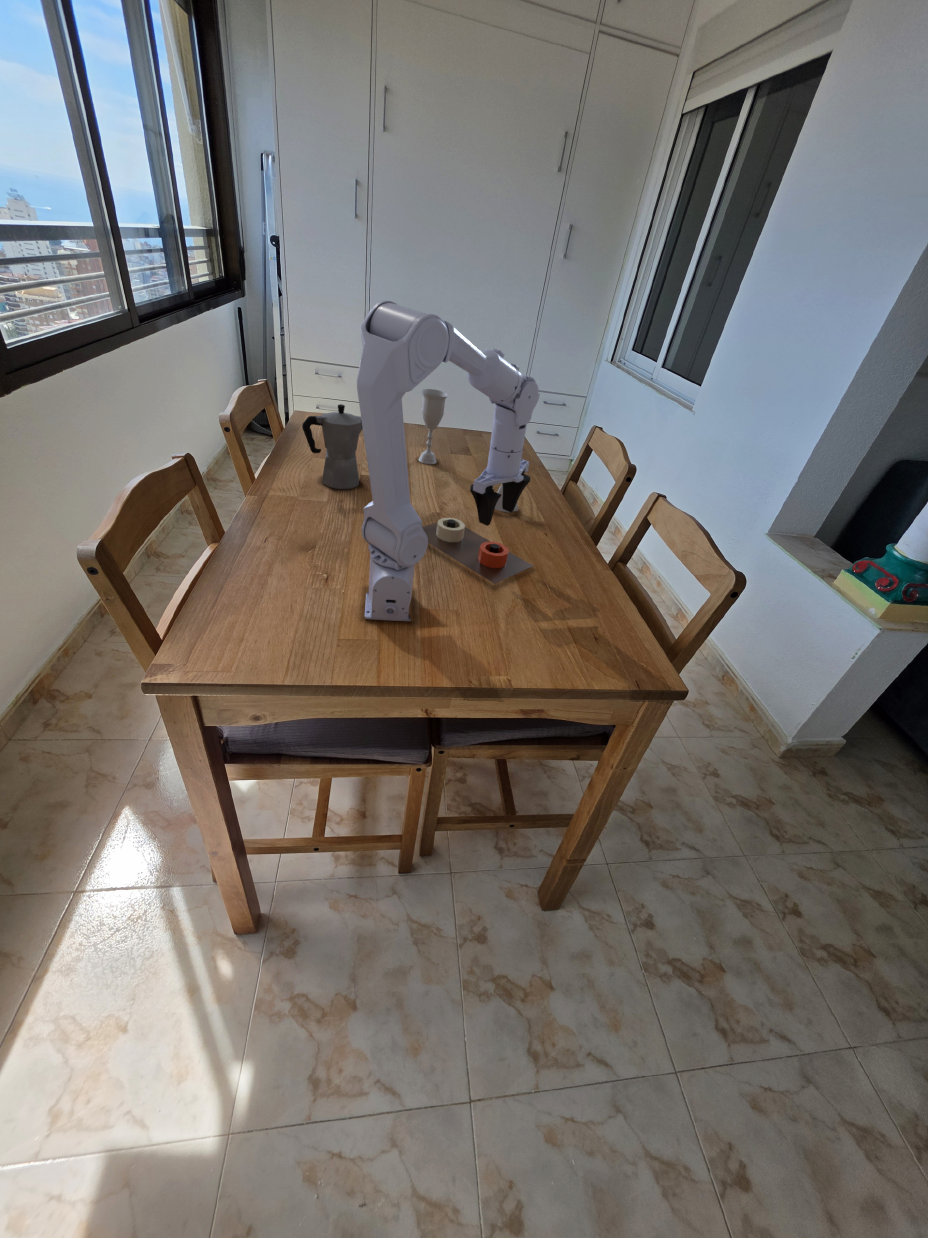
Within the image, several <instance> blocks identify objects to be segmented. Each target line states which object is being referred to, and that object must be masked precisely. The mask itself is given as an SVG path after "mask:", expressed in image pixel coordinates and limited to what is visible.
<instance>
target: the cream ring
mask: <svg viewBox="0 0 928 1238" xmlns="http://www.w3.org/2000/svg"><path fill="white" fill-rule="evenodd" d="M449 519H452V520H455V521H456V526H455V528H449V527H447V521H448V520H449ZM437 522H438V523H437ZM437 522H436V523H437V531H436V535H437V537H438V538H439V539H441V540H443V541H446V542H459V541H461V540H462V539H463V537H464V530H465V527H466V525H465V523H464V522H463V521H462V520H460V519H458V518H453V517H442V518H440V519H438V521H437Z"/></svg>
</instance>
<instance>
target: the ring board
mask: <svg viewBox="0 0 928 1238" xmlns="http://www.w3.org/2000/svg"><path fill="white" fill-rule="evenodd" d="M437 523H438V521H436V522H434V523H431V524H428V525H425V526H422V528H423V530H424V532H425V533H426V535H427V537H428V545H431V546H432V547H435V548H436V549H437V550H439V551H441V552H442V553H443V554H445V555H447V556H448V557H450V558H452V559H454V560H455V561H457V562H458V563H460V564H462V565H463V566H465V567H467V568H468V569H469V570H471V571H473V572H475V573H476V574H478V575H479V576H481V577H483V578H484V579H486V580H487V581H489V582H491V583H492V584H494V585H495V584H498V583H500V582H502V581H504V580H506V579H508V578H511V577H513V576H515V575H517V574H519V573H522V572H524V571H526V570H528V569H530V568H532V567H534V565H533V564H531V563H530V562H528V561H526V560H524V559H523V558H520V557H519V556H517V555H515V554H513V553H512V552H510V551H509V553H508V557H507V562H506V565H505V566H504V567H501V568H490V567H486V566H484V565H483V564H481V563H480V562H479V560H478V555H479V549H480V546H481V544H482V543H484V542H492V541H491V540H489V539H487V538H486V537H484V536H482V535H480V534H478V533H476V532H475V531H474V530H471V529H469V528H467V527H466V526H465V530H464V537H463V539H462V540H461V541H459V542H446V541H443V540H441V539H439V538H438V537H437V535H436V531H437ZM455 526H456V521H455V520H452V519H449V520H448V521H447V527H449V528H455ZM489 552H492V553H498V552H499V545H497V544H491V545H490V550H489Z"/></svg>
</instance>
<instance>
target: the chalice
mask: <svg viewBox="0 0 928 1238" xmlns="http://www.w3.org/2000/svg"><path fill="white" fill-rule="evenodd" d="M421 394H422V402H421V415H422V420H423V422H424V426H425V428H426V429H428V434H427V436H426V437H427V441H426V442H425V444H426V449H425V450H423V451H422V452H421V455H420V456H419V458H418V461H419V462H420V463H422V464H425V465H435V464H437V459H436V455H435V453H434V452H433V451H432V449H431V448H432V445H433V442H432V439H433V438H434V435H433V431H434V430H436V429H437V428H438V426H439V425H440V423H441V422H442V419H443V417H444V413H445V406H446V399H447V398H448V396H449V395H448V393H447V392H445V391H442V390H440V389H439V390H438V389H435V388H434V389H432V388H425V389H422V390H421Z"/></svg>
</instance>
